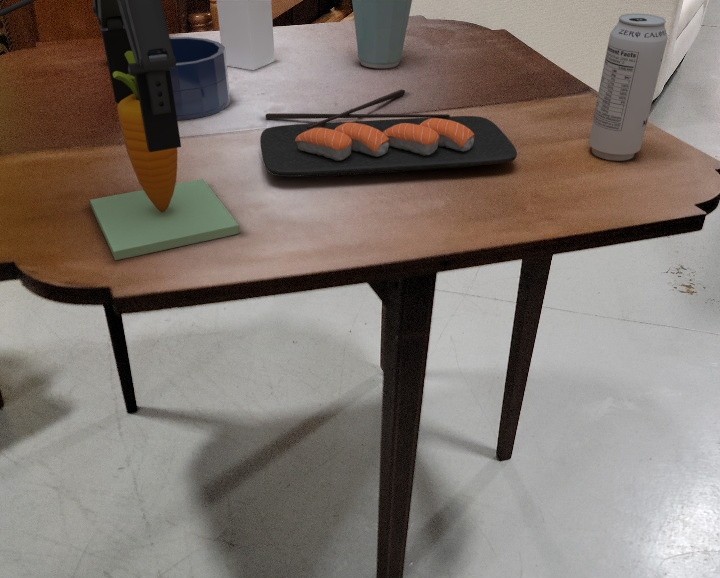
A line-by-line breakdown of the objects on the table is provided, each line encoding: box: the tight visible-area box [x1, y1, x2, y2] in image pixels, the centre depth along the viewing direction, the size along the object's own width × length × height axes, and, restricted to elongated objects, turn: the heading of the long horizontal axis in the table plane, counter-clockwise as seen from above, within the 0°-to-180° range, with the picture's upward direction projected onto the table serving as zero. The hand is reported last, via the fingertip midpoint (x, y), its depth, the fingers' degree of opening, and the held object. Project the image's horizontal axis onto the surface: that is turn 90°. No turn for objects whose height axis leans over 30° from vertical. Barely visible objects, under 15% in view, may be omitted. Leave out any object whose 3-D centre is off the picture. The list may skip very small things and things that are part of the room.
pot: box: [147, 36, 231, 121], centre depth 99 cm, size 14×14×7 cm
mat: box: [89, 178, 240, 261], centre depth 73 cm, size 12×12×1 cm
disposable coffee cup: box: [351, 0, 413, 69], centre depth 112 cm, size 11×11×15 cm
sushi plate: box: [259, 88, 518, 178], centre depth 91 cm, size 29×30×4 cm
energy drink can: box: [588, 12, 669, 162], centre depth 83 cm, size 6×6×15 cm
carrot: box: [113, 51, 178, 212], centre depth 68 cm, size 5×5×15 cm
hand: (146, 123), depth 67 cm, fingers open, 13 cm apart
